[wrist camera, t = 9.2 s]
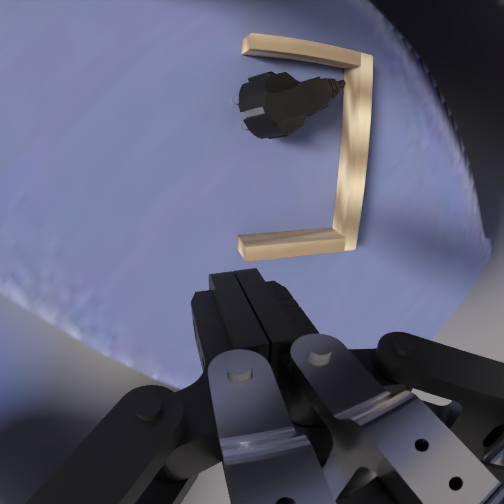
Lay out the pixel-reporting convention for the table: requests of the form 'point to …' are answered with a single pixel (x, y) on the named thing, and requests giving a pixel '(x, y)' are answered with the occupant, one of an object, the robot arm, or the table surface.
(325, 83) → the power plug
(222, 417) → the robot arm
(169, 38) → the table surface
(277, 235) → the bracket
